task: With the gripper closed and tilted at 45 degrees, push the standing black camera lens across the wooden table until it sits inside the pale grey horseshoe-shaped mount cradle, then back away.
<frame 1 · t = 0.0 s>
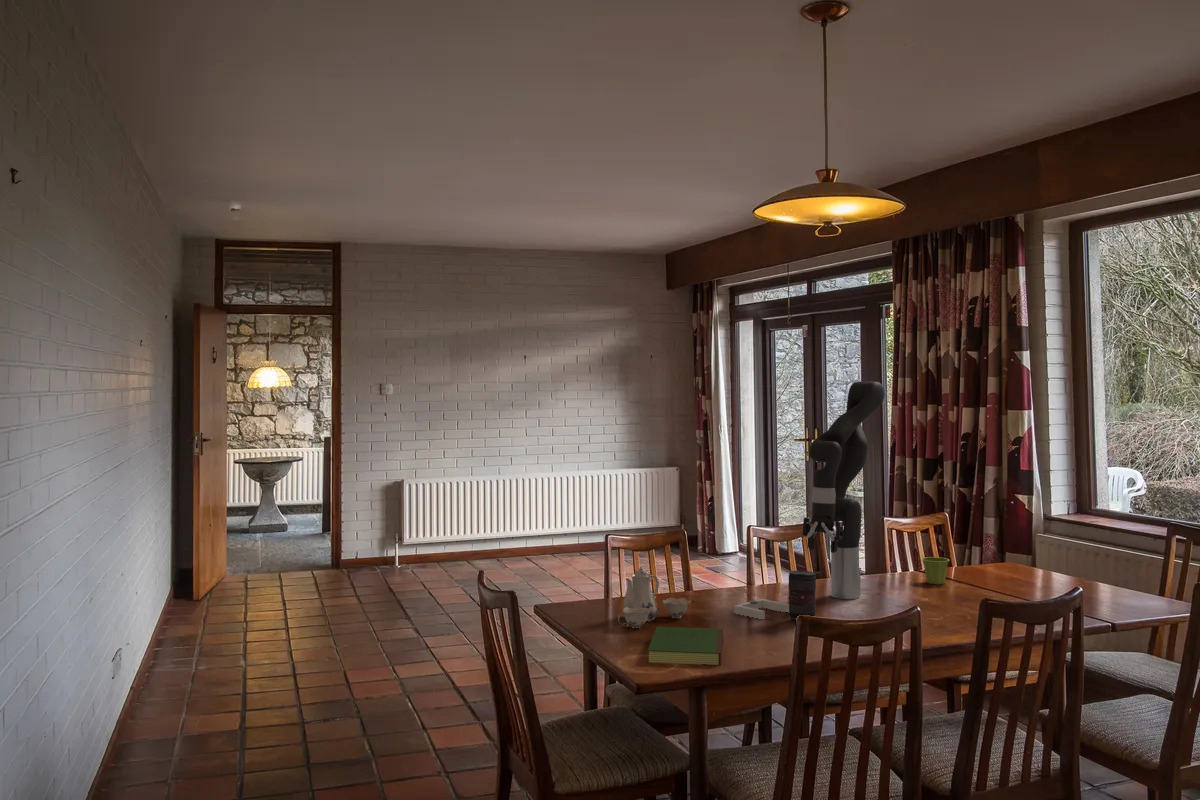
hand: (822, 551, 305), 17 cm above the table, tool pointing down, fingers open, 8 cm apart
chinaware: (648, 621, 286), on the table
plant pot: (935, 583, 335), on the table
camera lens: (802, 622, 282), on the table
mount cradle: (765, 613, 292), on the table
hardcover book: (687, 653, 252), on the table
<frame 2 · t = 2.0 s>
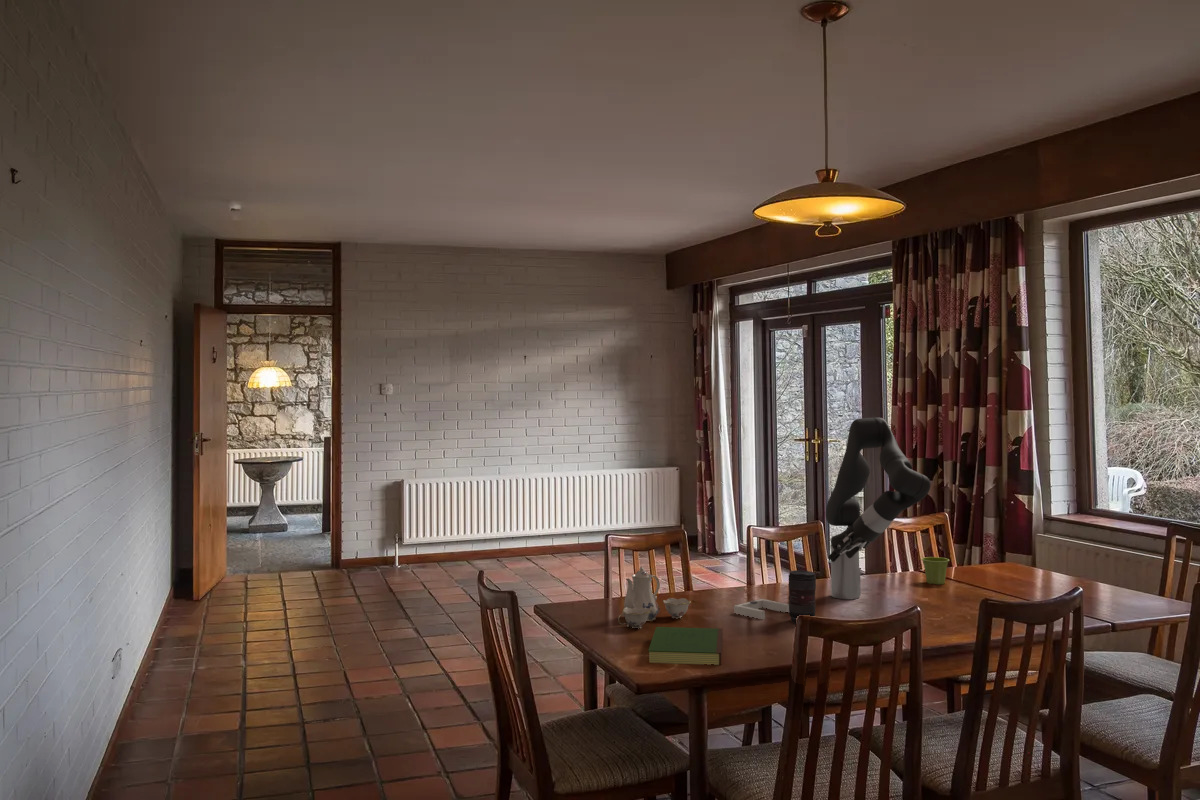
hand: (839, 557, 271), 21 cm above the table, tool tilted 45°, fingers open, 8 cm apart
nothing on the table moved.
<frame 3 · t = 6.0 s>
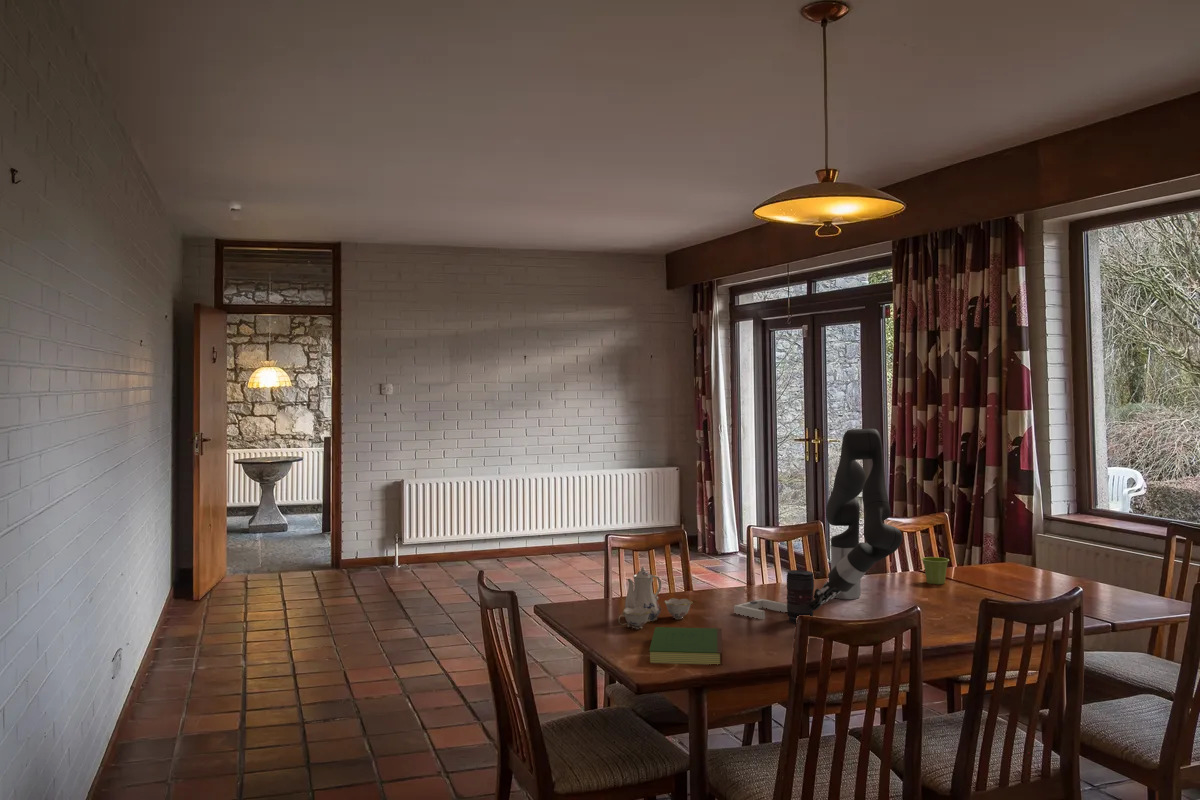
hand: (812, 607, 279), 5 cm above the table, tool tilted 45°, fingers closed
camera lens: (800, 621, 282), on the table, touching gripper
everything else where it was.
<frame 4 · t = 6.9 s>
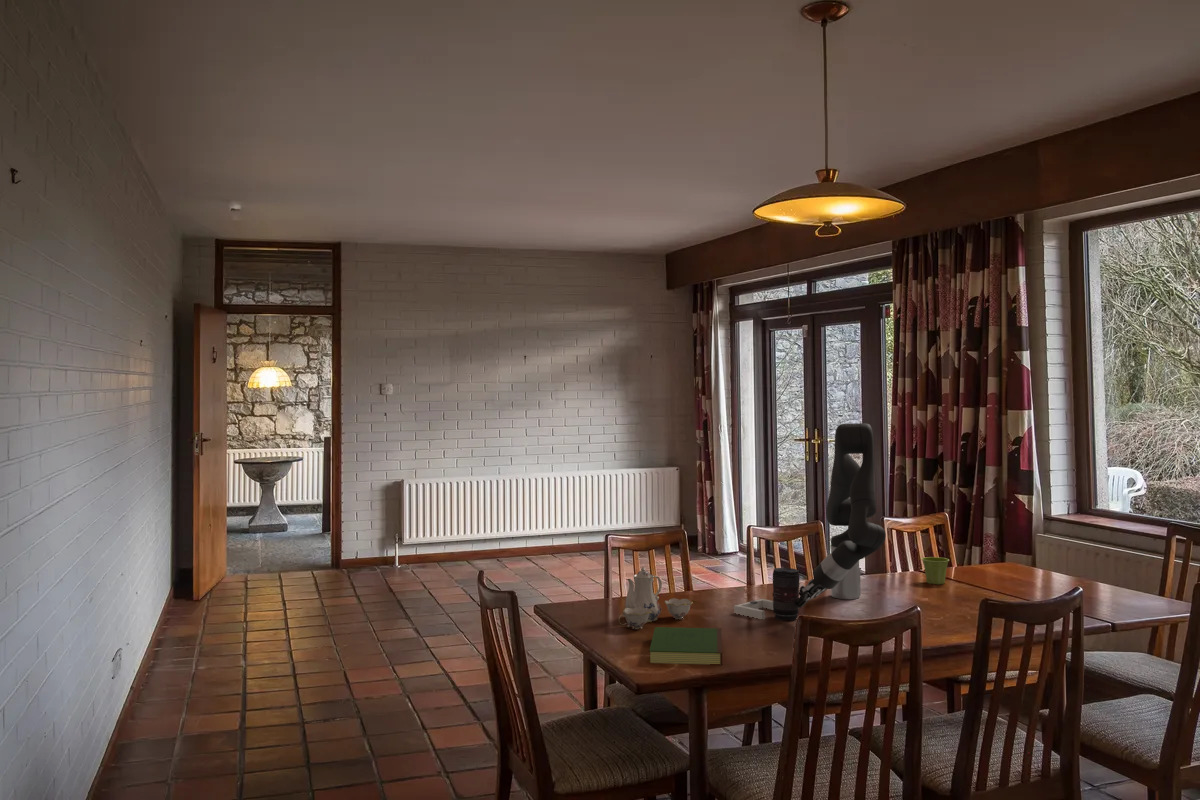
hand: (798, 604, 283), 5 cm above the table, tool tilted 45°, fingers closed
camera lens: (786, 618, 286), on the table, touching gripper
everything else where it was.
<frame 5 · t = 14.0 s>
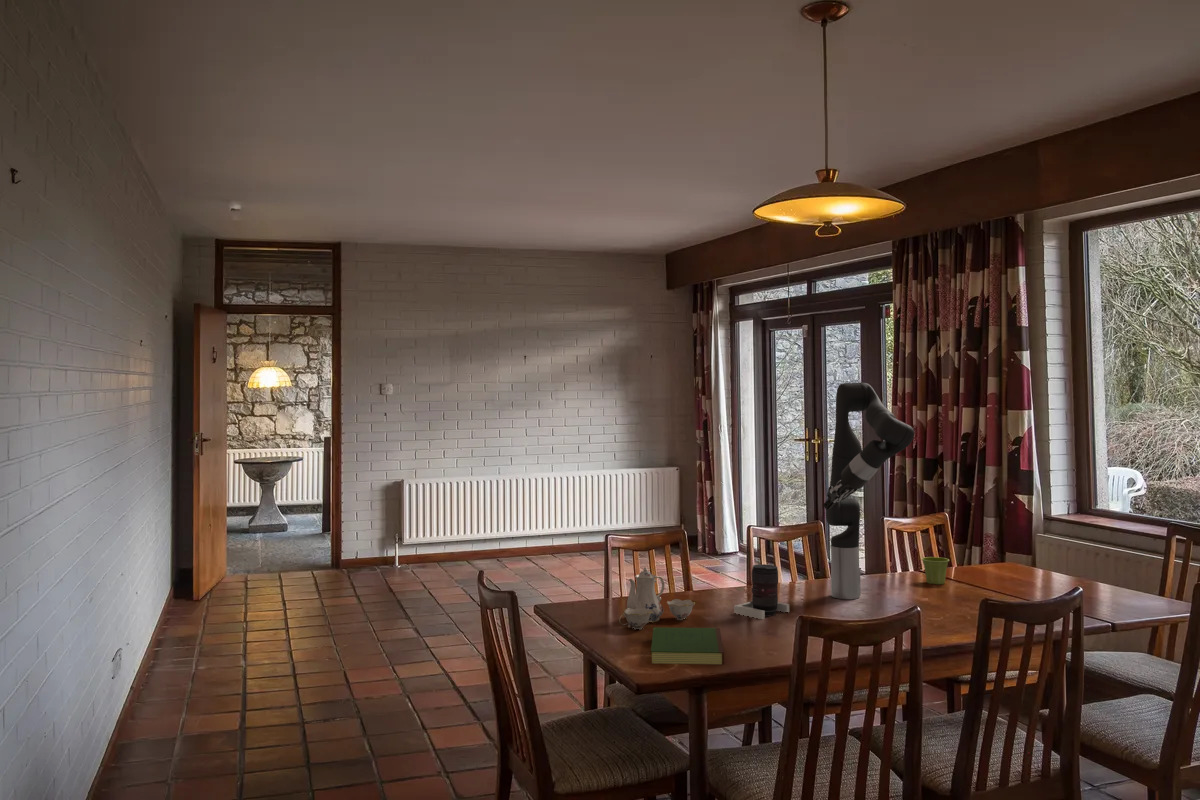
hand: (826, 507, 287), 34 cm above the table, tool tilted 45°, fingers closed
camera lens: (765, 614, 292), on the table
at the end: camera lens 0.5 cm off-centre on the mount cradle, point 0.0 cm above the mount cradle's base; camera lens tilted 0°; the gripper is holding nothing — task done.
